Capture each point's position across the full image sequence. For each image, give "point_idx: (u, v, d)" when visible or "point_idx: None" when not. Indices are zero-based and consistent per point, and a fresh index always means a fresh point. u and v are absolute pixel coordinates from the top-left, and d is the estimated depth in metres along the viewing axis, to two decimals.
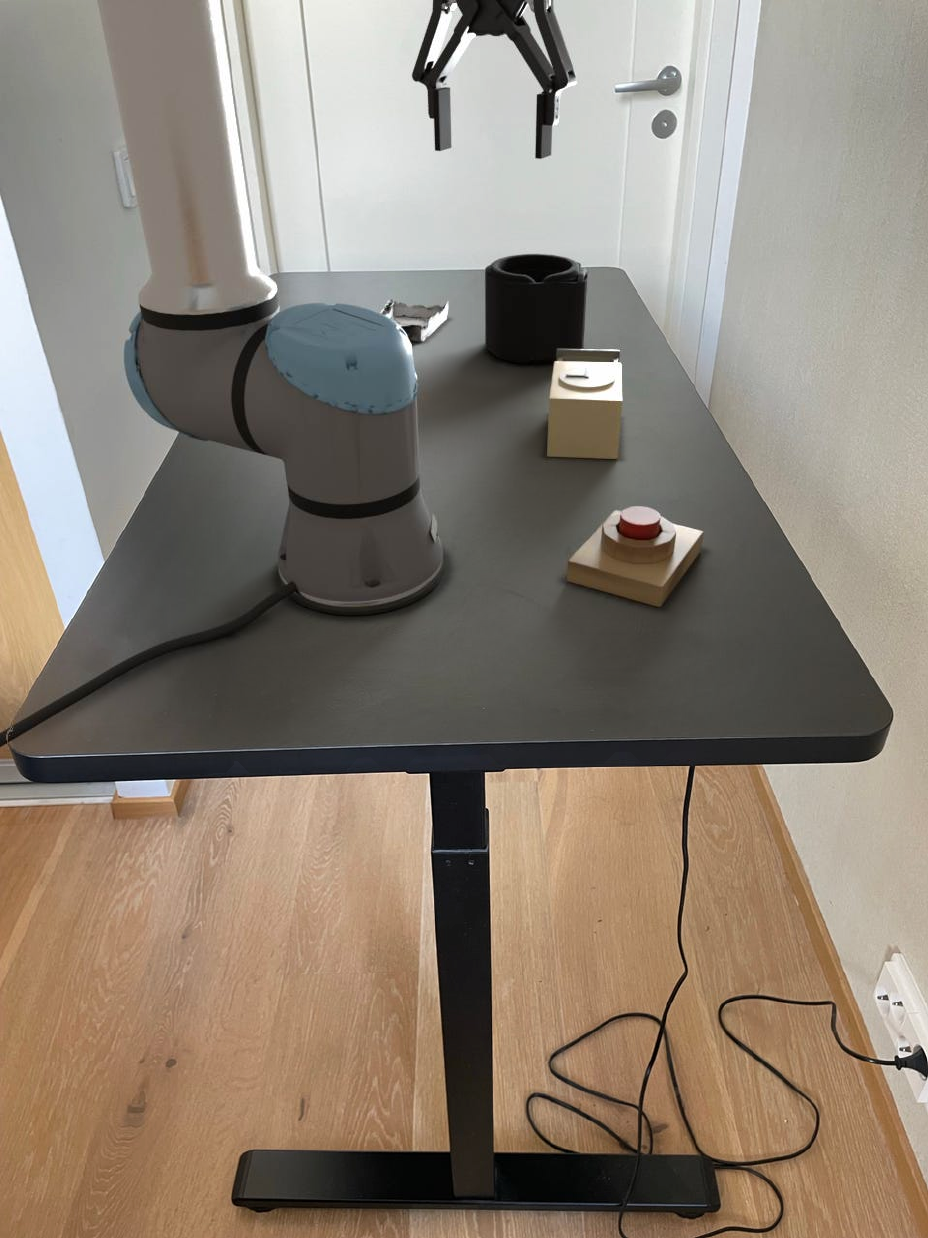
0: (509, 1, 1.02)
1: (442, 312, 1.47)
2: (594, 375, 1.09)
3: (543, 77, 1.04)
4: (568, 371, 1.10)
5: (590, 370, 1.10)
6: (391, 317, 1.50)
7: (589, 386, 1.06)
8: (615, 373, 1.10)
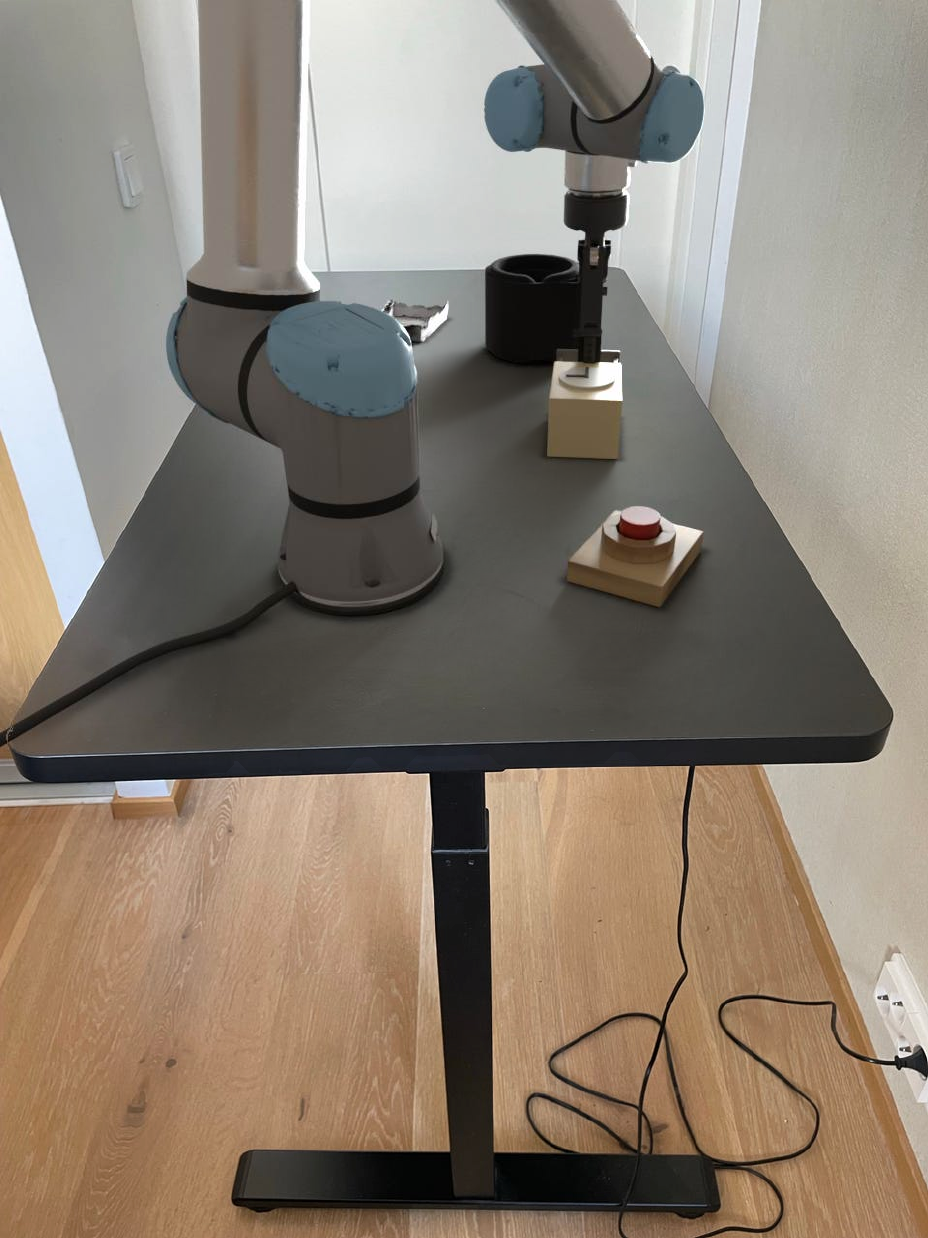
0: None
1: (442, 312, 1.47)
2: (594, 375, 1.09)
3: None
4: (568, 371, 1.10)
5: (590, 370, 1.10)
6: None
7: (589, 386, 1.06)
8: (615, 373, 1.10)
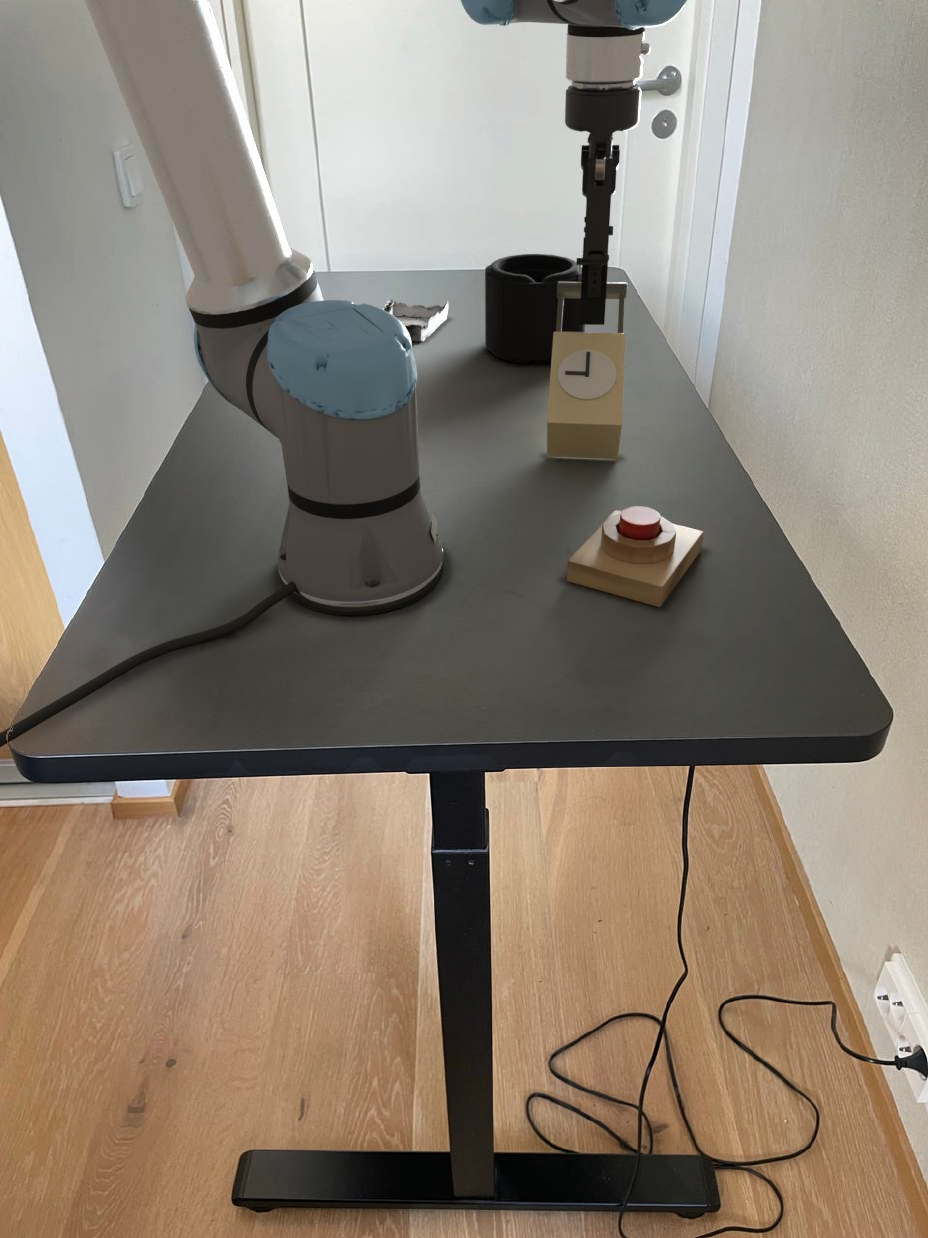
0: None
1: (442, 312, 1.47)
2: (595, 370, 1.03)
3: (584, 247, 0.99)
4: (568, 361, 1.04)
5: (591, 358, 1.04)
6: None
7: (589, 398, 1.02)
8: (618, 359, 1.04)
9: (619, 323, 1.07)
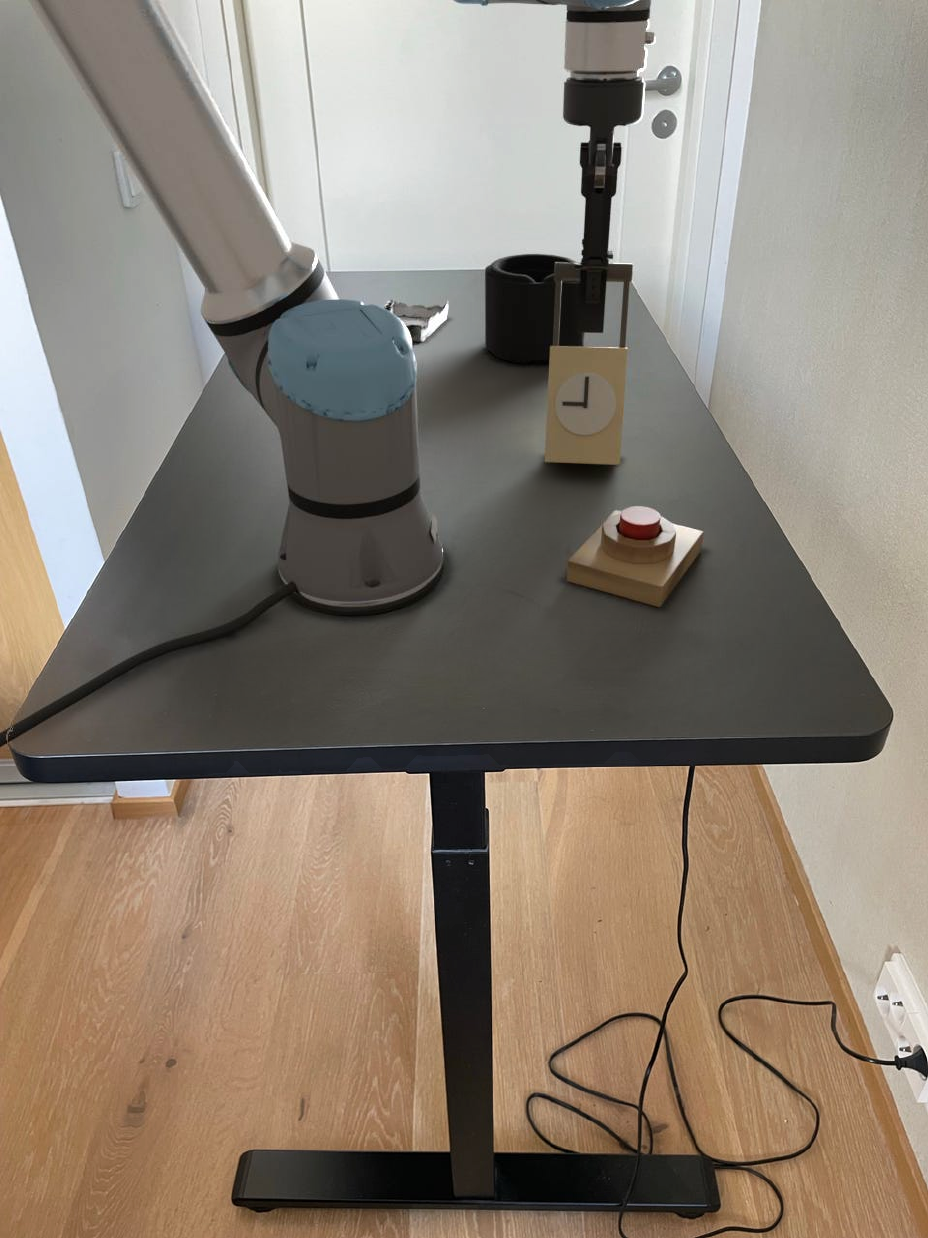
0: None
1: (442, 312, 1.47)
2: (594, 400, 0.99)
3: None
4: (565, 388, 0.99)
5: (590, 384, 0.98)
6: None
7: (587, 434, 1.00)
8: (618, 383, 0.98)
9: (622, 321, 0.98)
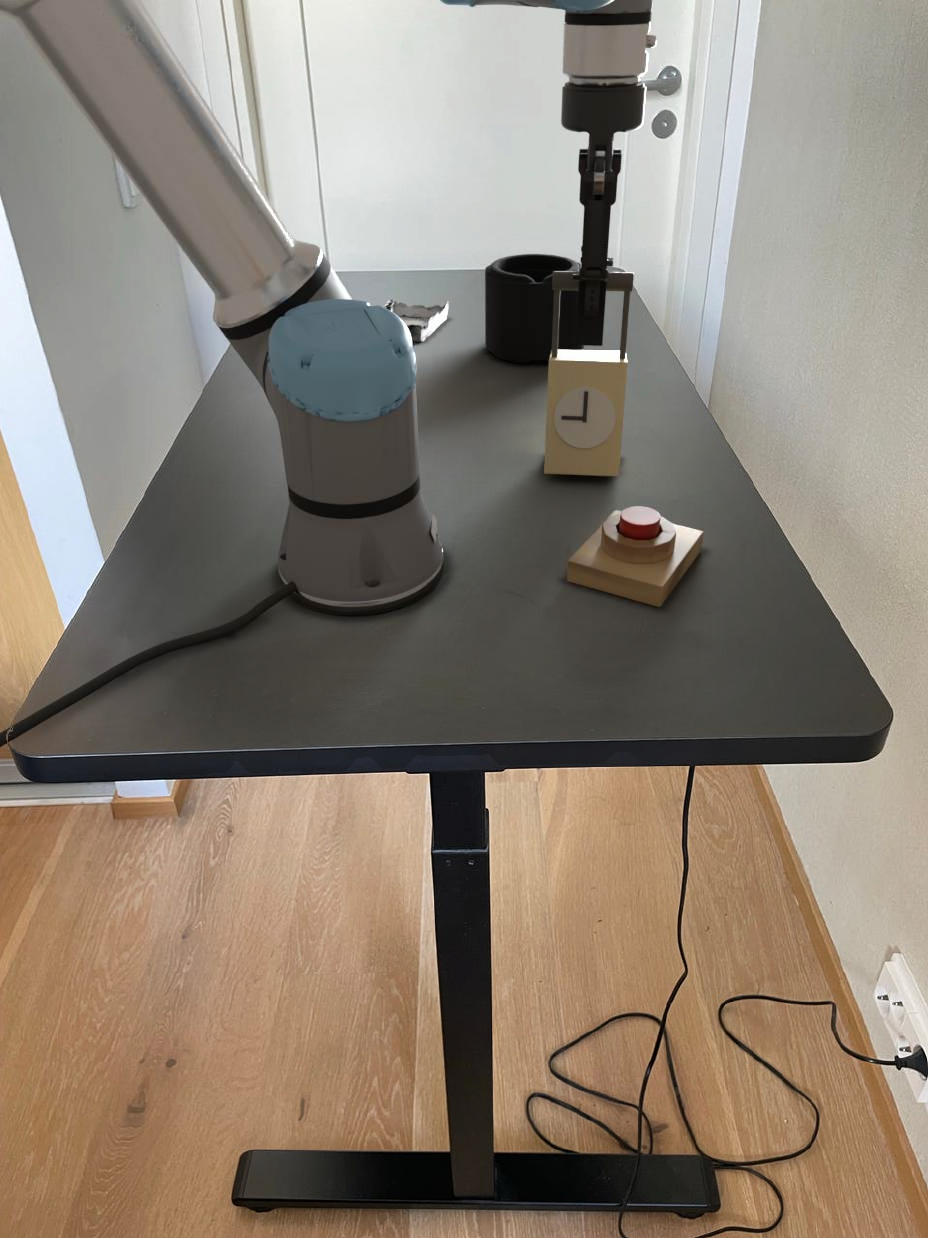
0: None
1: (442, 312, 1.47)
2: (593, 414, 0.98)
3: None
4: (564, 403, 0.98)
5: (589, 398, 0.97)
6: None
7: (586, 447, 1.00)
8: (618, 397, 0.97)
9: (622, 332, 0.96)
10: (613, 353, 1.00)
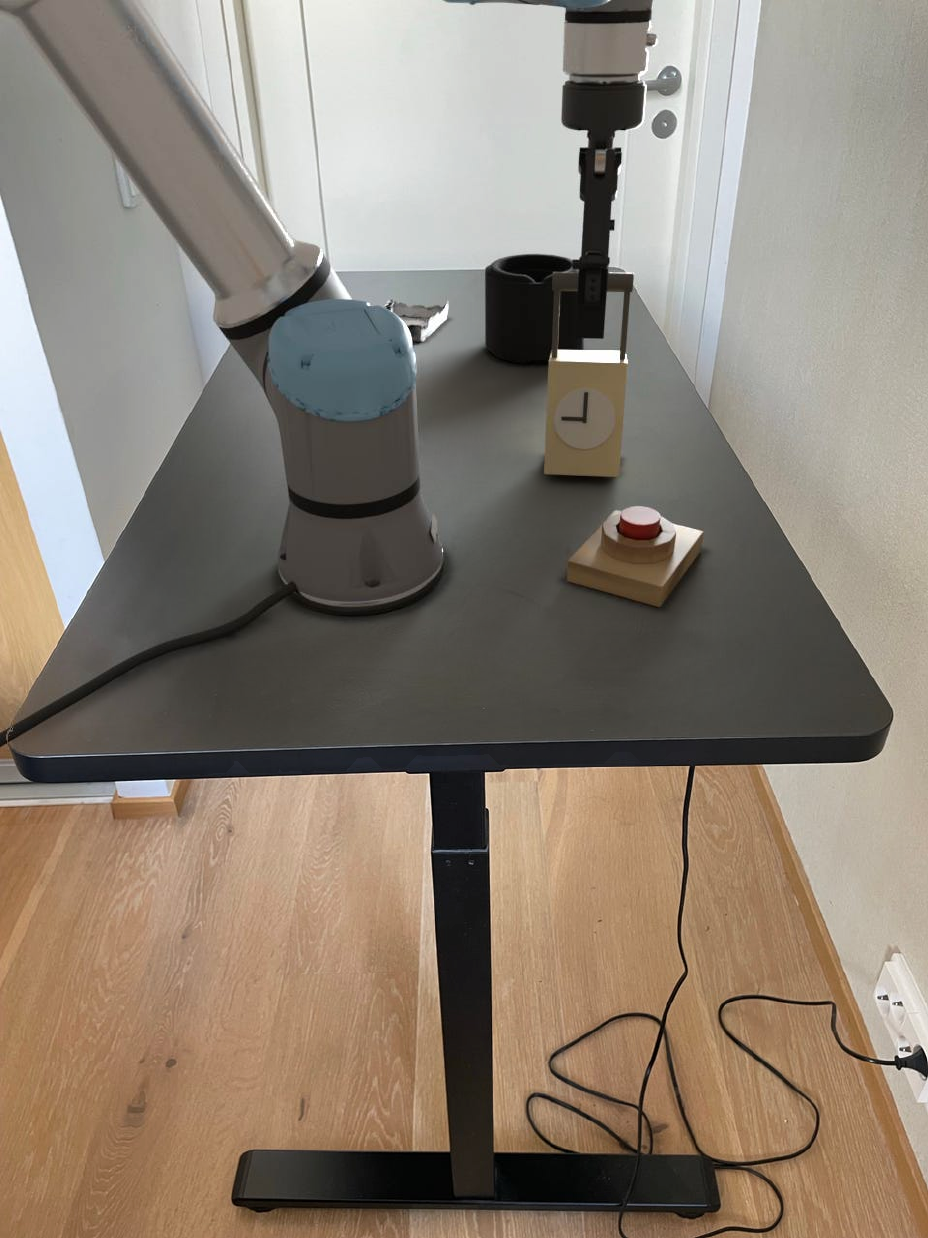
0: None
1: (442, 312, 1.47)
2: (593, 415, 0.98)
3: None
4: (564, 403, 0.98)
5: (589, 399, 0.97)
6: None
7: (586, 448, 1.00)
8: (618, 398, 0.97)
9: (622, 333, 0.96)
10: (613, 353, 1.00)
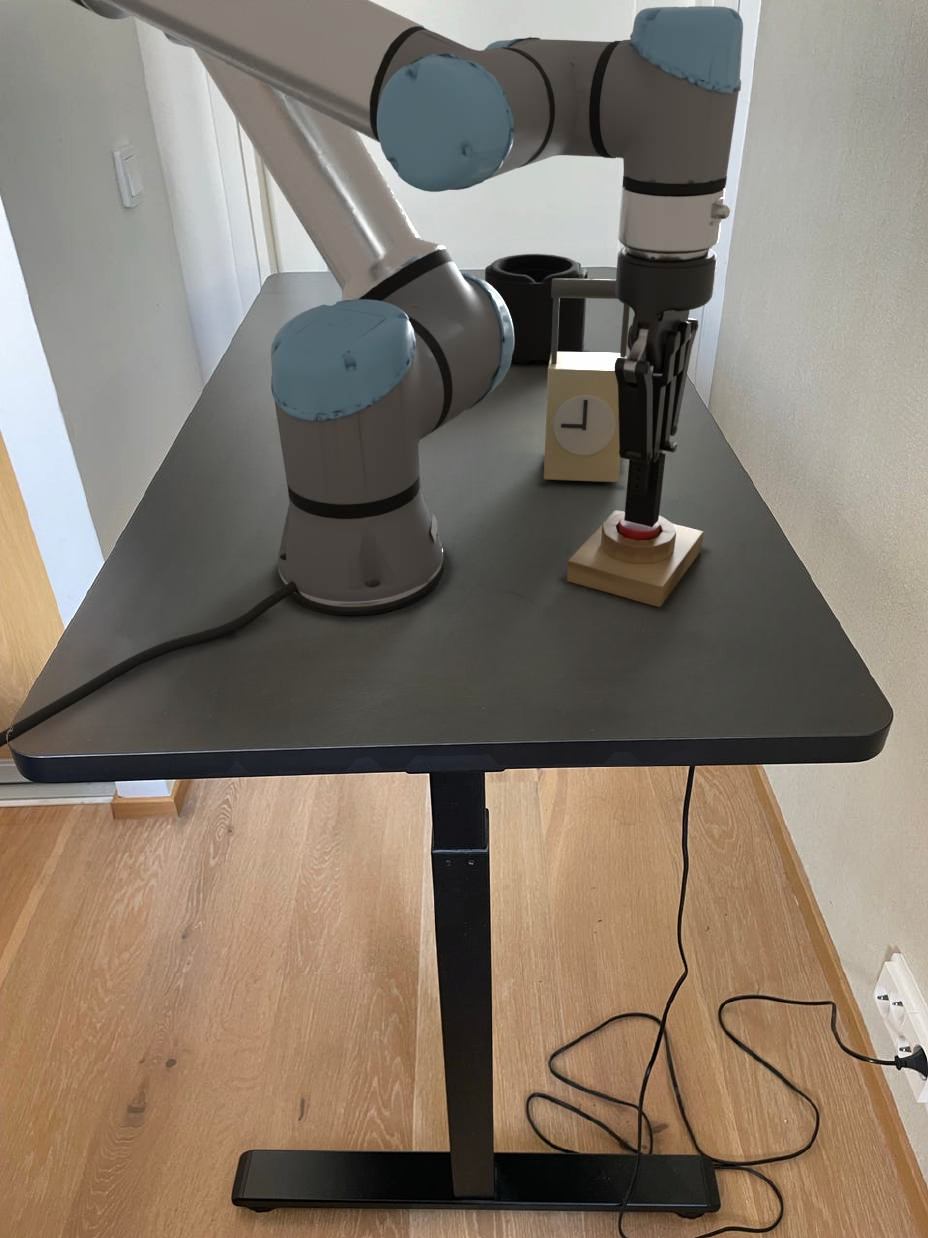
0: None
1: None
2: (592, 422, 0.98)
3: None
4: (564, 411, 0.98)
5: (589, 407, 0.97)
6: None
7: (586, 455, 1.00)
8: None
9: (622, 340, 0.95)
10: (613, 357, 0.99)
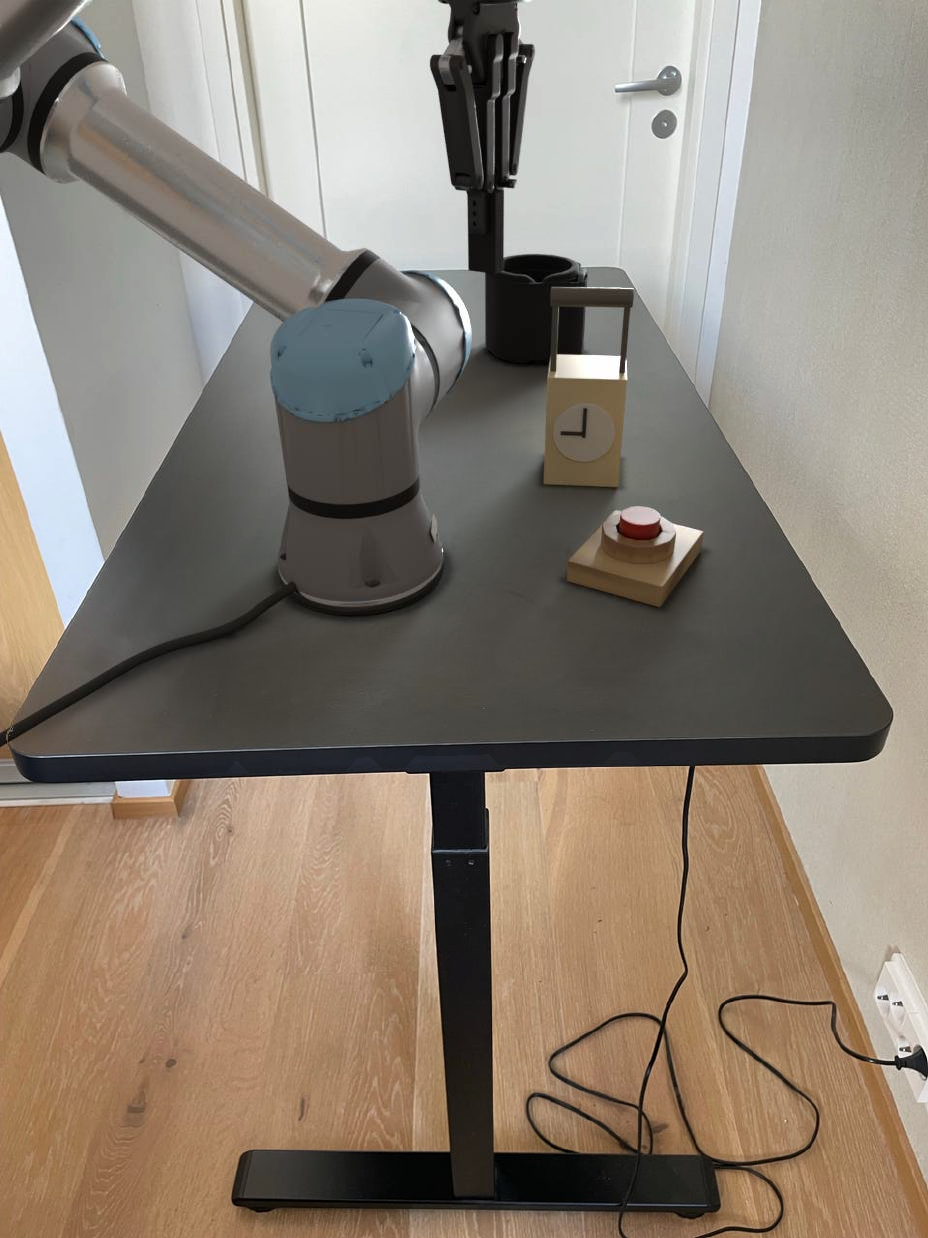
0: None
1: None
2: (592, 429, 0.98)
3: None
4: (563, 419, 0.97)
5: (588, 415, 0.97)
6: None
7: (585, 461, 1.00)
8: (617, 413, 0.97)
9: (622, 348, 0.94)
10: (613, 361, 0.99)
